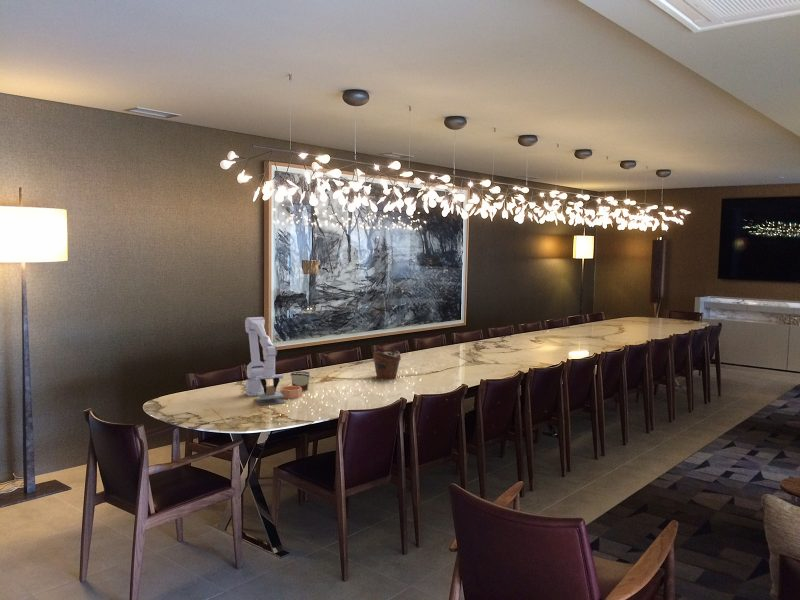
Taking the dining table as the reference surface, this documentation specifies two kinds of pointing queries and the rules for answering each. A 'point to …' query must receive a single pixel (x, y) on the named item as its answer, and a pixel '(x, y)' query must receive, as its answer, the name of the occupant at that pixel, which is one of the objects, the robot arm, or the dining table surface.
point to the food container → (300, 379)
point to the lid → (269, 393)
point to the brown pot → (386, 363)
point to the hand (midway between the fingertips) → (269, 392)
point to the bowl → (291, 391)
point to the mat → (269, 401)
